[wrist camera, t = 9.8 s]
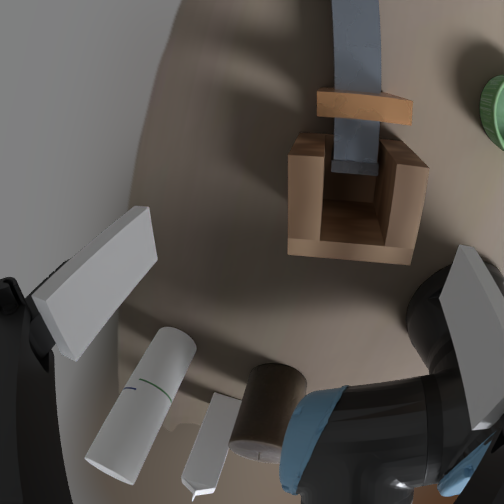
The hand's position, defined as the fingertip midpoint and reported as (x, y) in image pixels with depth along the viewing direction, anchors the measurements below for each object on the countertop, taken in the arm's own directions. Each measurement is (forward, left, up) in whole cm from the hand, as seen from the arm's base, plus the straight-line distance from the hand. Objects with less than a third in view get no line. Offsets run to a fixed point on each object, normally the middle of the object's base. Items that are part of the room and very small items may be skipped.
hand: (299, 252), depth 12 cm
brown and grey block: (-3, -9, -19) cm, 21 cm away
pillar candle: (+4, +38, -20) cm, 43 cm away
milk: (+14, +49, -20) cm, 54 cm away
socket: (-3, +3, -19) cm, 20 cm away
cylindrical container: (+21, +32, -20) cm, 43 cm away
